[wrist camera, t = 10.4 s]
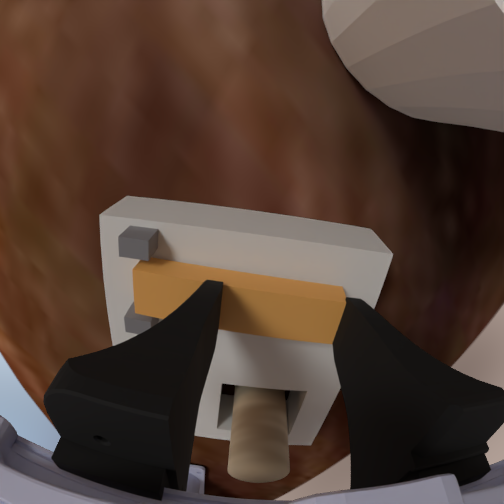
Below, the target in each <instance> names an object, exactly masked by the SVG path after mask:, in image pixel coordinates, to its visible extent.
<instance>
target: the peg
mask: <svg viewBox="0 0 504 504" xmlns="http://www.w3.org/2000/svg"><path fill="white" fill-rule="evenodd" d="M289 471H290V467H289V449H288V432H287V415H286V400H285V390H280V389H268V388H257V387H248V386H239V385H235V393H234V404H233V415H232V426H231V438H230V449H229V461H228V473H229V474H230V475H231V476H232V477H234V478H236V479H239V480H242V481H247V482H256V483H262V482H271V481H276V480H279V479H282V478H284V477H285V476H287V475H288V473H289Z"/></svg>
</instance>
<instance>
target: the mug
mask: <svg viewBox="0 0 504 504" xmlns="http://www.w3.org/2000/svg"><path fill="white" fill-rule="evenodd" d="M322 14H323V20H324V23H325V26H326V29H327V32H328V35H329V38H330V41H331V44H332V46H333V47H334V49H335V50H336V52H337V54H338V55H339V57H340V59H341V60H342V62H343V64H344V65H345V67H346V68H347V70H348V71H349V72H350V73H351V74H352V75H353V76H354V77H355V78H356V79H357V80H358V81H359V83H360V84H361V85H362V86H363V87H364V88H365V89H366V90H367V91H368V92H370V93H371V94H372V95H374V96H375V97H376V98H378V99H379V100H381V101H382V102H383V103H384V104H386V105H387V106H388V107H390V108H393V109H395V110H397V111H399V112H401V113H404V114H406V115H408V116H410V117H412V118H417V119H423V120H428V121H433V122H440V123H449V124H456V125H464V126H470V127H477V128H483V129H489V130H494V131H500V132H504V0H322Z"/></svg>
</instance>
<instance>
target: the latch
mask: <svg viewBox="0 0 504 504" xmlns="http://www.w3.org/2000/svg"><path fill="white" fill-rule="evenodd" d="M132 274H133V292H134V306H135V313H137V314H141V315H146V316H151V317H155V318H160V319H164V318H166V317H167V316H168V315H169V314H171V313H172V312H173V311H174V310H176V309H177V308H178V307H179V306H180V305H181V304H182V303H184V302H185V301H186V300H187V299H188V298H189V297H190V296H191V295H192V294H193V293H194V292H195V291H196V290H197V289H198V288H199V287H200V285H201V284H202V283H203V282H204V281H206V280H214V281H221V282H223V291H222V301H221V310H220V320H219V329H220V330H226V331H232V332H238V333H245V334H252V335H258V336H266V337H273V338H281V339H289V340H297V341H305V342H314V343H324V344H332V343H333V340H334V337H335V335H336V332H337V329H338V326H339V323H340V320H341V317H342V314H343V312H344V309H345V306H346V300H345V299H346V295H345V292H344V290H343V287H342V286H335V285H328V284H321V283H314V282H307V281H300V280H293V279H286V278H279V277H272V276H266V275H259V274H252V273H246V272H239V271H233V270H226V269H220V268H214V267H207V266H201V265H195V264H189V263H182V262H176V261H170V260H164V259H158V258H152V257H151V258H150V260H149V261H145V260H140V261H139V262H138V263H137V265H136V266H135V267H134V268H133V269H132Z"/></svg>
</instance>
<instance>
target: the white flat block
mask: <svg viewBox="0 0 504 504" xmlns="http://www.w3.org/2000/svg"><path fill="white" fill-rule="evenodd" d="M100 237H101V252H102V265H103V276H104V286H105V295H106V303H107V310H108V318H109V324H110V331H111V337H112V343H113V346H115V345H117V344H119V343H122V342H124V341H127V340H129V339H131V338H133V337H135V336H136V335H138V334H140V333H142V332H144V331H146V330H148V329H149V328H151V327H153V326H154V325H156V324H157V323H159V322H160V321H161V320H163V319H160V318H155V317H151V316H146V315H141V314H137V313H135V306H134V292H133V274H132V269H133V268H134V267H135V266H136V265H137V263H138V262H139V261H140V260H145V261H149V260H150V258H151V257H152V258H158V259H164V260H170V261H176V262H182V263H189V264H195V265H201V266H207V267H214V268H220V269H226V270H233V271H239V272H246V273H252V274H259V275H266V276H272V277H279V278H286V279H293V280H300V281H307V282H314V283H321V284H328V285H335V286H342V287H343V290H344V292H345V295H346V297H350V298H359V299H362V300H363V301H365V302H366V303H367V304H368V305H370V306H371V307H372V308H373V309H374V308H375V305H376V303H377V300H378V297H379V295H380V292H381V289H382V286H383V283H384V280H385V277H386V275H387V272H388V269H389V265H390V262H391V259H392V256H393V254H392V252H391V251H390V250H389V249H388V248H387V247H386V245H385V244H384V243H383V242H382V241H381V240H380V238H379V237H378V236H377V235H376V234H375V233H374V232H373V231H372V229H369V228H363V227H357V226H351V225H345V224H339V223H333V222H327V221H321V220H314V219H308V218H301V217H295V216H288V215H281V214H274V213H267V212H260V211H253V210H245V209H238V208H230V207H222V206H214V205H206V204H198V203H189V202H181V201H172V200H163V199H153V198H144V197H134V196H126V197H125V198H123V199H122V200H120V201H119V202H117V203H116V204H114V205H113V206H111V207H110V208H108V209H107V210H106V211H104V212H103V213H101V214H100ZM222 384H231V385H239V386H248V387H257V388H268V389H280V390H290V393H289V396H288V399H287V400H286V415H287V432H288V445H311V444H312V442H313V440H314V438H315V437H316V435H317V433H318V431H319V429H320V427H321V426H322V424H323V422H324V420H325V418H326V416H327V414H328V412H329V410H330V408H331V406H332V404H333V402H334V400H335V398H336V396H337V394H338V392H339V390H340V388H341V386H340V382H339V378H338V374H337V370H336V366H335V362H334V355H333V345H332V344H324V343H314V342H305V341H297V340H289V339H281V338H273V337H266V336H258V335H252V334H245V333H238V332H232V331H226V330H220V329H218V335H217V341H216V347H215V351H214V355H213V358H212V362H211V365H210V369H209V372H208V375H207V379H206V382H205V386H204V389H203V393H202V396H201V400H200V405H199V410H198V416H197V422H196V428H195V436H201V437H208V438H215V439H223V440H230V438H231V426H232V415H233V404H234V395H226V394H221V392H222Z"/></svg>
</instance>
